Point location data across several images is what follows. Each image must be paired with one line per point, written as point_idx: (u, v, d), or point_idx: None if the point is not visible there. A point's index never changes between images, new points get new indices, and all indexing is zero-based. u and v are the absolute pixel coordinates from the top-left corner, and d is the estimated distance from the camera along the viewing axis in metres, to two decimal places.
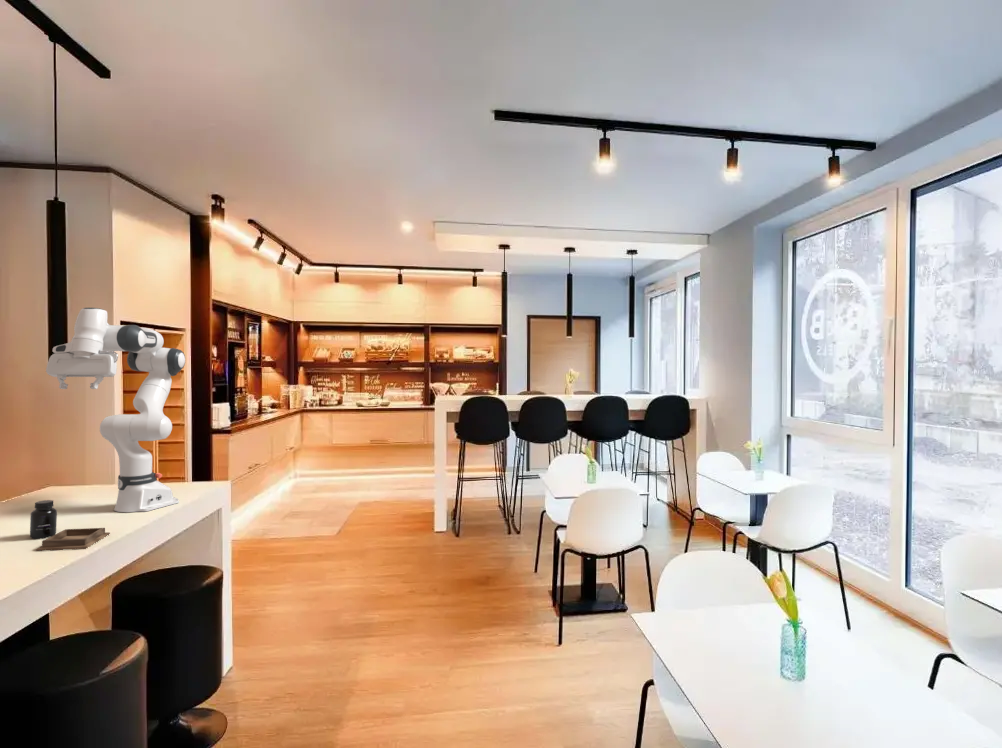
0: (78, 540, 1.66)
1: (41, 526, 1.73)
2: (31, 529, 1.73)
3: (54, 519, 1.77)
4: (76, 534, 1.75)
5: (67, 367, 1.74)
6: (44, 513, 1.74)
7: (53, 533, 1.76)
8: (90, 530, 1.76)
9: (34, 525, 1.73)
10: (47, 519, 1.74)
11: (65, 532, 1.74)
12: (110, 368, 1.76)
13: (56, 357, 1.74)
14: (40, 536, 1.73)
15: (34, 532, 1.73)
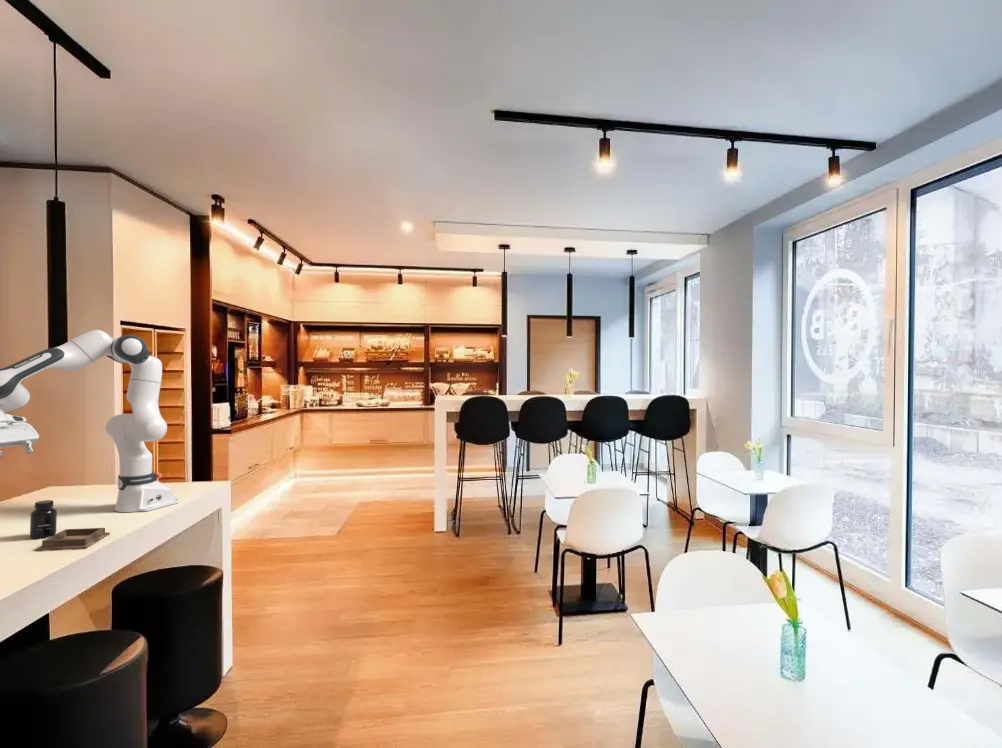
0: (78, 540, 1.66)
1: (41, 526, 1.73)
2: (31, 529, 1.73)
3: (54, 519, 1.77)
4: (76, 534, 1.75)
5: None
6: (44, 513, 1.74)
7: (53, 533, 1.76)
8: (90, 530, 1.76)
9: (34, 525, 1.73)
10: (47, 519, 1.74)
11: (65, 532, 1.74)
12: None
13: None
14: (40, 536, 1.73)
15: (34, 532, 1.73)
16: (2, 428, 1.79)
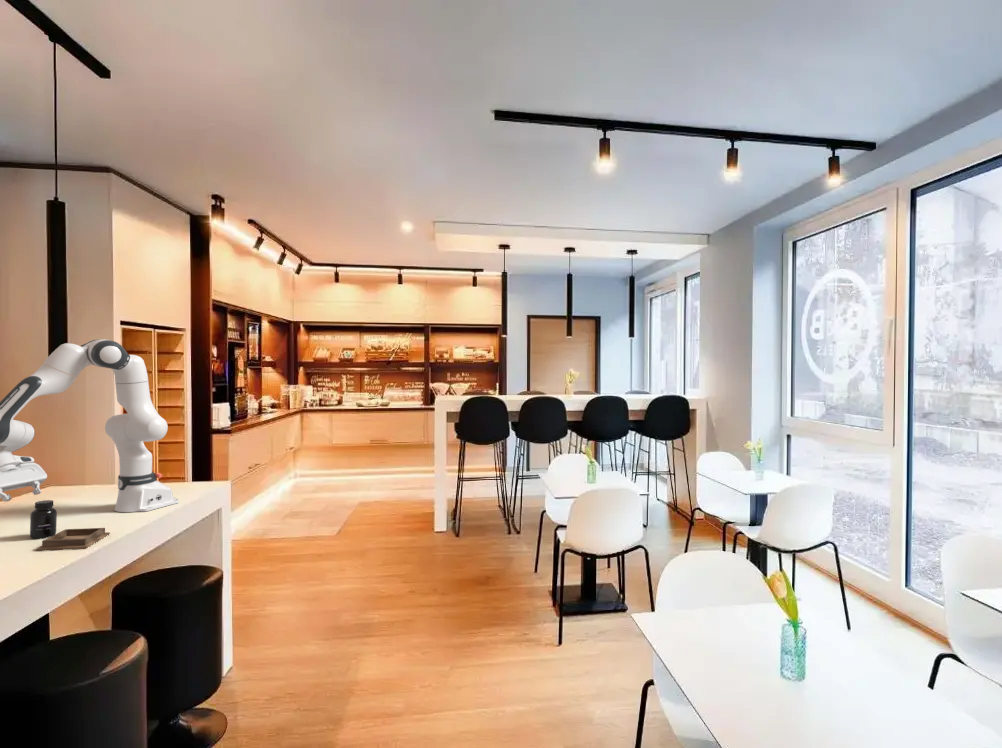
0: (78, 540, 1.66)
1: (41, 526, 1.73)
2: (31, 529, 1.73)
3: (54, 519, 1.77)
4: (76, 534, 1.75)
5: None
6: (44, 513, 1.74)
7: (53, 533, 1.76)
8: (90, 530, 1.76)
9: (34, 525, 1.73)
10: (47, 519, 1.74)
11: (65, 532, 1.74)
12: None
13: None
14: (40, 536, 1.73)
15: (34, 532, 1.73)
16: (10, 470, 1.78)
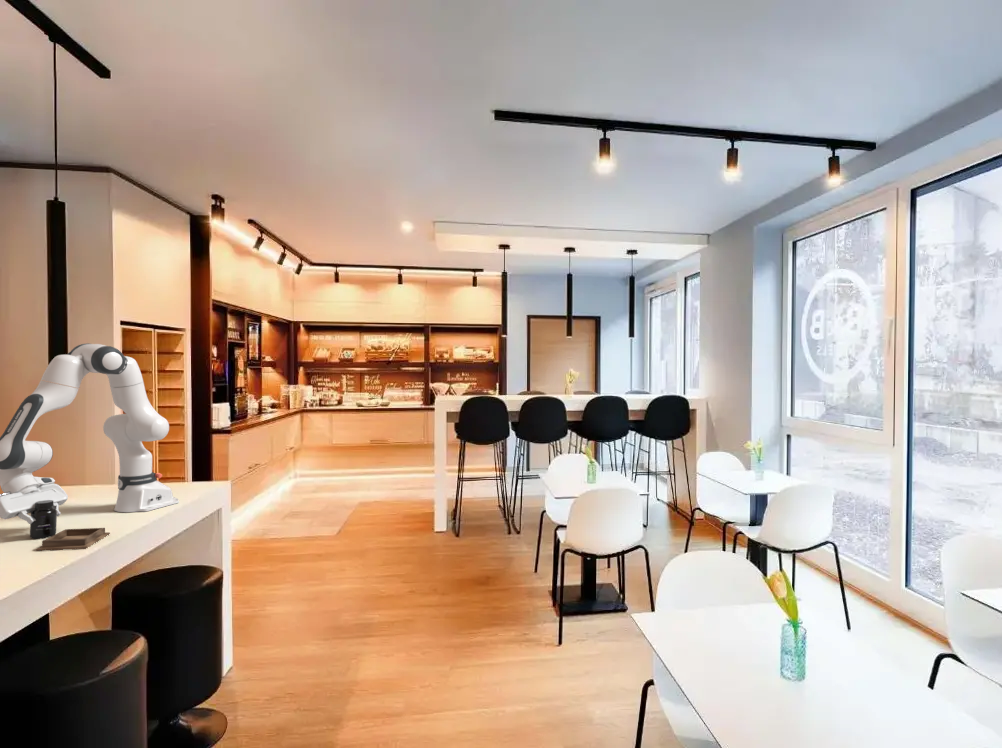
0: (78, 540, 1.66)
1: (41, 526, 1.73)
2: (31, 529, 1.73)
3: (54, 519, 1.77)
4: (76, 534, 1.75)
5: None
6: (44, 513, 1.74)
7: (53, 533, 1.76)
8: (90, 530, 1.76)
9: (34, 525, 1.73)
10: (47, 519, 1.74)
11: (65, 532, 1.74)
12: None
13: None
14: (40, 536, 1.73)
15: (34, 532, 1.73)
16: (31, 492, 1.77)
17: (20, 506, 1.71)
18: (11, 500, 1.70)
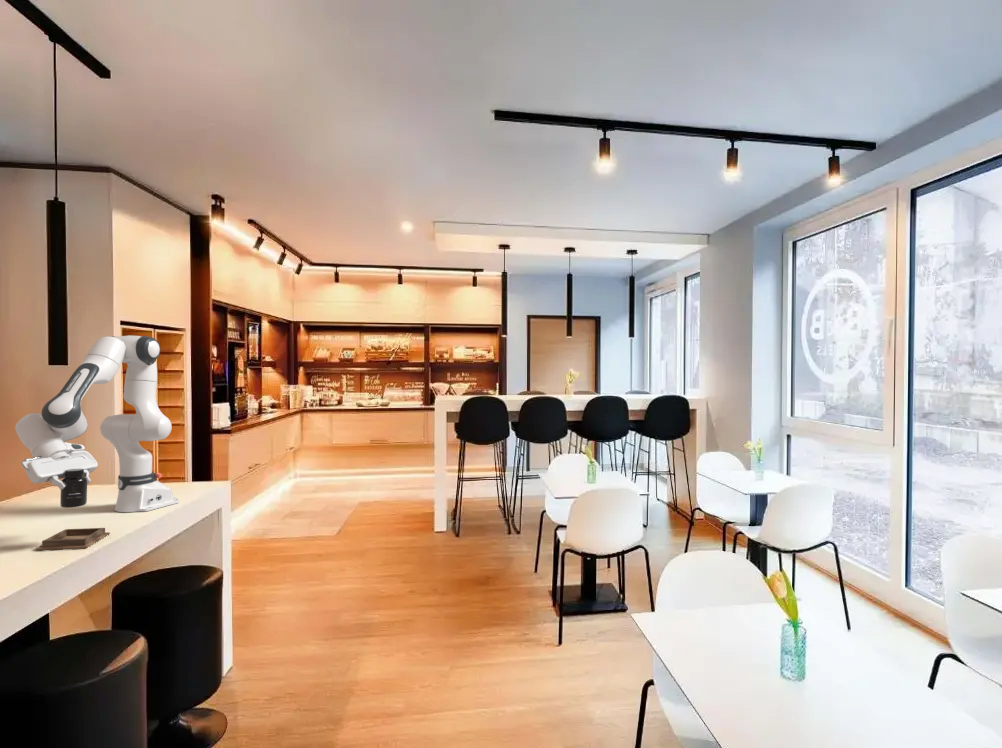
0: (78, 540, 1.66)
1: (71, 495, 1.67)
2: (62, 497, 1.67)
3: (85, 488, 1.71)
4: (76, 534, 1.75)
5: None
6: (75, 481, 1.68)
7: (84, 502, 1.70)
8: (90, 530, 1.76)
9: (64, 494, 1.67)
10: (78, 487, 1.68)
11: (65, 532, 1.74)
12: (30, 479, 1.62)
13: None
14: (71, 505, 1.67)
15: (65, 500, 1.67)
16: (62, 458, 1.71)
17: (51, 471, 1.65)
18: (42, 464, 1.65)
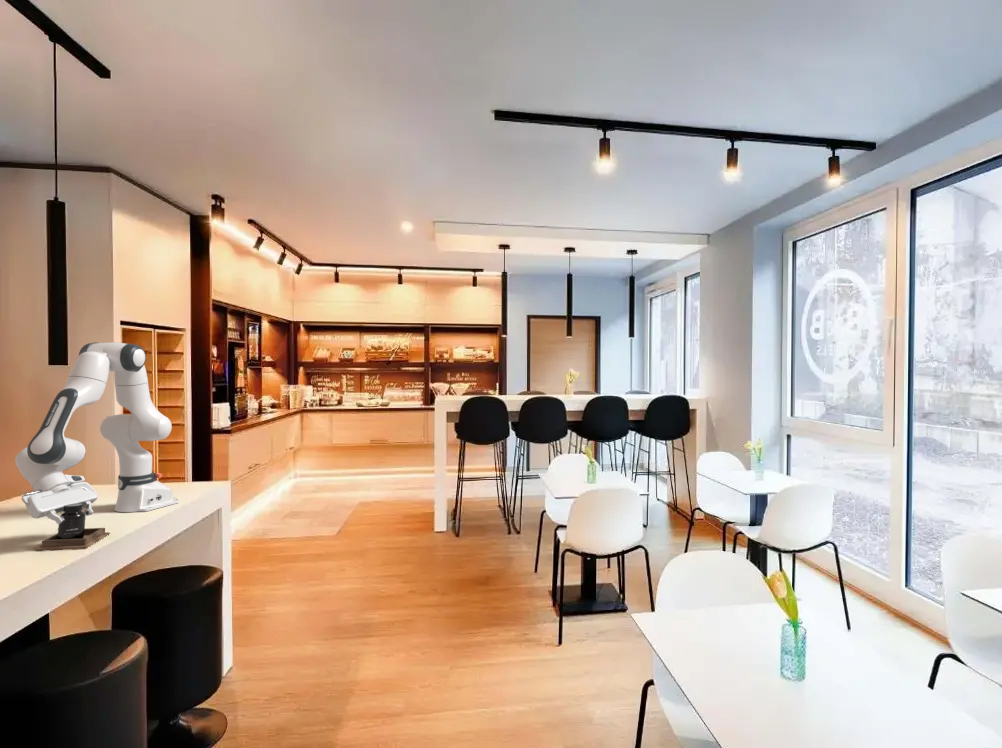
0: (78, 540, 1.66)
1: (69, 531, 1.67)
2: (59, 533, 1.66)
3: (83, 523, 1.70)
4: None
5: None
6: (73, 516, 1.67)
7: (81, 538, 1.70)
8: (90, 530, 1.76)
9: (62, 529, 1.66)
10: (76, 522, 1.68)
11: None
12: (30, 514, 1.62)
13: None
14: None
15: (62, 536, 1.66)
16: (62, 490, 1.72)
17: (51, 505, 1.65)
18: (42, 499, 1.65)
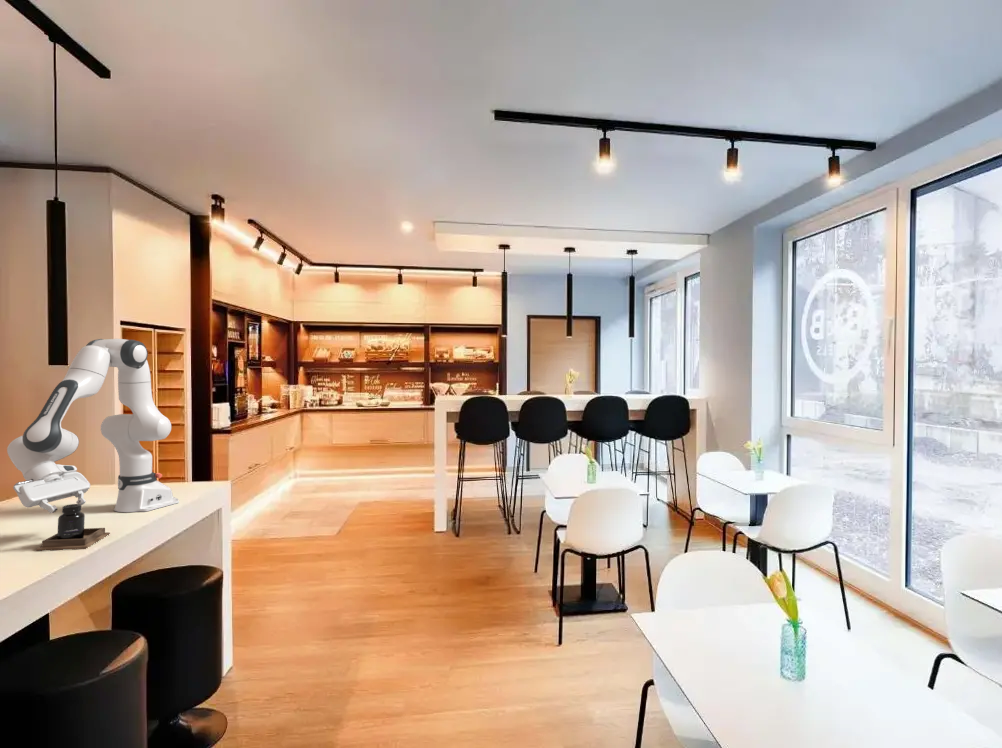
0: (78, 540, 1.66)
1: (69, 532, 1.66)
2: (59, 534, 1.66)
3: (82, 524, 1.70)
4: None
5: None
6: (72, 517, 1.67)
7: (81, 538, 1.70)
8: (90, 530, 1.76)
9: (61, 531, 1.66)
10: (75, 523, 1.67)
11: None
12: (22, 503, 1.63)
13: None
14: None
15: (62, 537, 1.66)
16: (54, 480, 1.72)
17: (43, 494, 1.66)
18: (34, 488, 1.66)
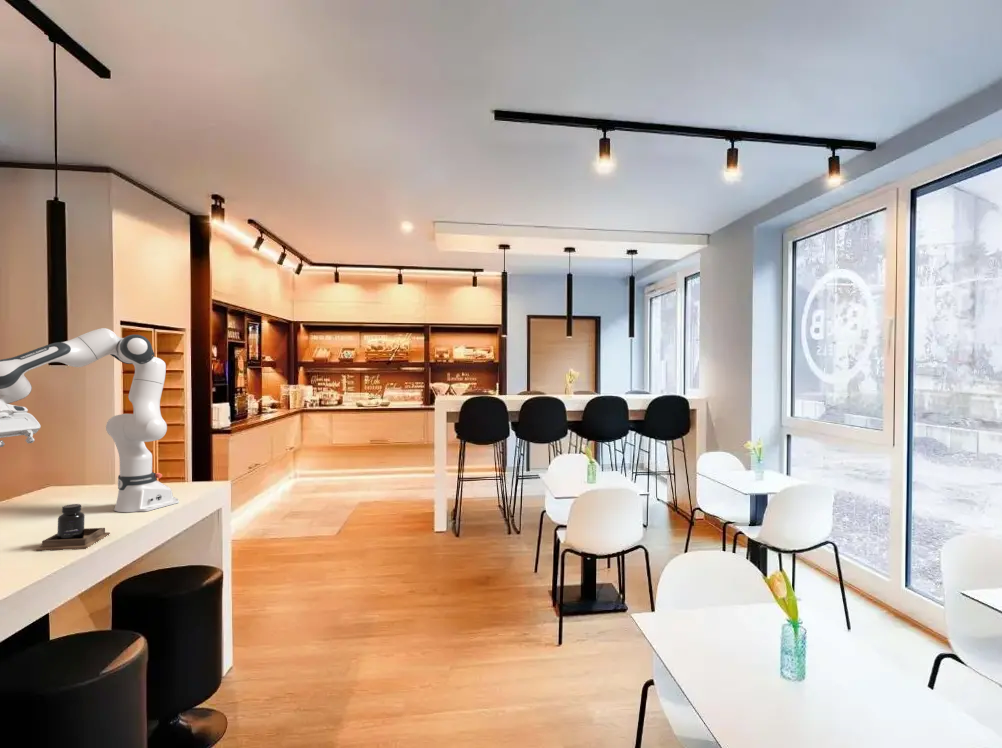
0: (78, 540, 1.66)
1: (68, 532, 1.66)
2: (58, 534, 1.66)
3: (82, 524, 1.70)
4: None
5: None
6: (72, 517, 1.67)
7: (81, 538, 1.70)
8: (90, 530, 1.76)
9: (61, 531, 1.66)
10: (75, 523, 1.67)
11: None
12: None
13: None
14: None
15: (62, 537, 1.66)
16: (3, 418, 1.79)
17: None
18: None
